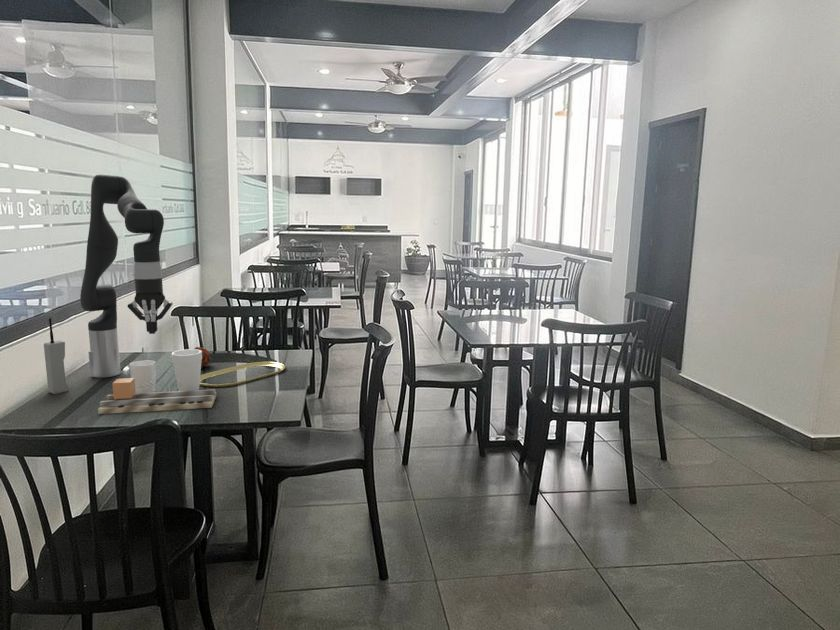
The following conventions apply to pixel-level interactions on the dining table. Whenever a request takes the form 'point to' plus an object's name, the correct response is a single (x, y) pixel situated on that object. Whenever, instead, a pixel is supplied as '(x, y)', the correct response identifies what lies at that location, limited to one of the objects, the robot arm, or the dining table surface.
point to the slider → (124, 389)
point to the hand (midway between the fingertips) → (152, 333)
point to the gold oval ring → (238, 369)
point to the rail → (160, 401)
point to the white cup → (144, 375)
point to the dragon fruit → (204, 356)
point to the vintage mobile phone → (55, 364)
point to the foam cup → (187, 368)
